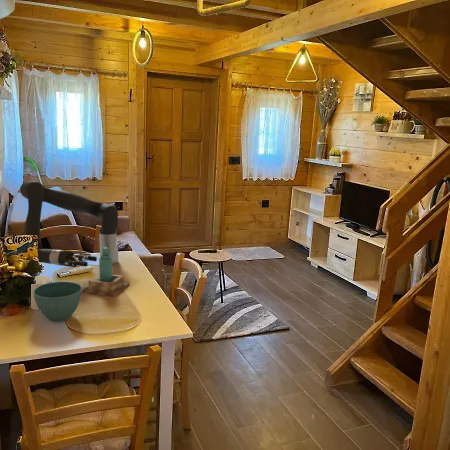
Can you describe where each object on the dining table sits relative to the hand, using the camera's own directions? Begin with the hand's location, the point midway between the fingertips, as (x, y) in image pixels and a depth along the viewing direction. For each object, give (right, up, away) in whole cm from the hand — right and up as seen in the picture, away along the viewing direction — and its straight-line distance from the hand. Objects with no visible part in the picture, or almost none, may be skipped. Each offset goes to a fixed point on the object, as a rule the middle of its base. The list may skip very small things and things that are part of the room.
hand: (91, 261), depth 218 cm
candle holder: (-15, -18, -22) cm, 32 cm away
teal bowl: (-4, -20, -32) cm, 38 cm away
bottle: (+7, -12, +1) cm, 14 cm away
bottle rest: (+7, -13, +1) cm, 15 cm away
